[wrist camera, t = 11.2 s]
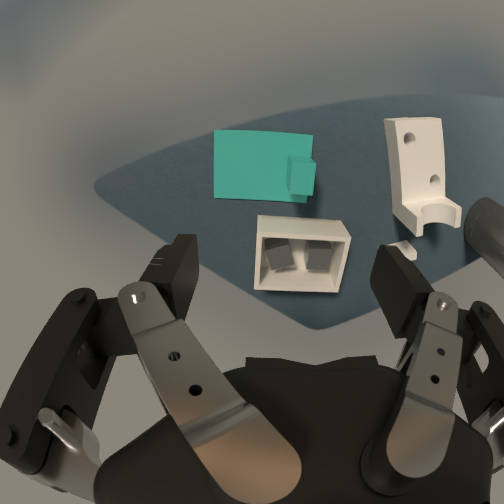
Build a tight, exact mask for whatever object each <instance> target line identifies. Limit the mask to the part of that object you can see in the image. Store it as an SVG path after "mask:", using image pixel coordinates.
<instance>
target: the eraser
mask: <svg viewBox="0 0 504 504" xmlns="http://www.w3.org/2000/svg"><path fill="white" fill-rule="evenodd" d="M389 245H393V246H397V247H398V248H399V249H400V251H401V252H402V253H403V254H404V256H405V257H406V258H408V259H409V260H410V261H412V260H415V259H417V252H416V250H415V249H414V248H413V247H412V246H411V245H410V244H409V242H408V241H407V240H405V241H401V242H397V243H393V244H389ZM378 248H379V247H378Z"/></svg>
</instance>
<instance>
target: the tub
mask: <svg viewBox="0 0 504 504" xmlns="http://www.w3.org/2000/svg"><path fill="white" fill-rule="evenodd" d="M268 238H288V239H289V242H290V246H291V249H292V253H293V258H294V264H295V265H291V266H287V267H283V268H279V269H275V270H271V267H270V264H269V261H268V258H267V255H266V252H265V239H268ZM306 239H308V240H325V241H329V242H330V244H331V246H332V249H333V252H332V257H331V262H330V267H329V270H315V269H306V266H305V262H304V258H303V257H304V250H305V243H306ZM350 241H351V236H350V235H349V233H348V232H347V230H346V228H345V227H344V225H343V223H342V222H341V221H339V220H326V219H312V218H298V217H282V216H264V215H258V222H257V242H256V261H255V281H254V289H258V290H280V291H307V292H338V290H339V287H340V283H341V279H342V275H343V271H344V267H345V263H346V258H347V254H348V250H349V245H350Z"/></svg>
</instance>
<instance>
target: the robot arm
mask: <svg viewBox="0 0 504 504" xmlns="http://www.w3.org/2000/svg"><path fill="white" fill-rule="evenodd" d="M464 234H465V239H466V241H467V243H468V244H469V245H470V246H471V247H472V248H473V249H474V250H475V251H476V252H477V253H478V254H479V255H480V256H481V257H482V258H483V259H484V260H485V261H487V263H489V265H490V266H491V267H492V268H493V269H494V270H495V271H496V272H497V273H498V274H499V275H500V276H501V277H502V278H503V279H504V207H503V206H501V205H500V204H498V203H497V202H495V201H494V200H492V199H490V198H483V199H480V200H479V201H478V202H476V203H475V205H474V206H473V207H472V208H471V210H470V212H469V214H468V216H467V219H466V222H465V228H464ZM198 276H199V260H198V246H197V236H196V235H195V234H178V235H177V237H176V238H175V240H174V242H173V243H172V245H165V246H163V247H162V248H161V249H159V250H158V251H157V253H156V254H155V255H154V257H153V259H152V260H151V262H150V264H149V265H148V267H147V268H146V270H145V271H144V273H143V275H142V276H141V278H140V280H139V281H138V282H133V283H130V284H128V285H126V286H125V287H123V288H122V289H121V290H120V291H119V293H118V296H117V297H115V298H107V299H97V296H96V293H95V291H93V290H92V289H90V288H79V289H75V290H73V291H71V292H70V293H68V294H67V295H66V296H65V297H64V298H63V300H62V301H61V302H60V304H59V305H58V307H57V308H56V310H55V311H54V313H53V314H52V316H51V317H50V319H49V320H48V322H47V323H46V325H45V326H44V328H43V330H42V331H41V333H40V334H39V336H38V338H37V339H36V341H35V343H34V344H33V346H32V348H31V349H30V351H29V353H28V355H27V356H26V358H25V360H24V362H23V363H22V365H21V367H20V369H19V371H18V373H17V375H16V377H15V379H14V380H13V382H12V384H11V386H10V388H9V391H8V393H7V395H6V397H5V399H4V402H3V403H2V406H1V408H0V458H1V459H2V460H4V461H5V462H6V463H8V464H10V465H11V466H13V467H14V468H16V469H17V470H18V471H19V472H21V473H22V474H24V475H26V476H28V477H29V478H31V479H33V480H35V481H37V482H39V483H41V484H43V485H45V486H49V487H51V488H53V489H55V490H57V491H60V492H70V493H72V494H74V495H77V496H79V497H81V498H84V499H86V500H89V501H92V502H94V503H95V504H490V486H491V477H492V474H494V473H496V472H497V471H499V470H501V469H502V468H504V324H503V323H502V322H501V320H500V318H499V317H498V315H497V314H496V313H495V311H494V310H493V309H492V308H491V307H490V306H489V305H488V304H486V303H484V302H481V301H475V302H474V303H473V304H472V306H471V308H470V310H469V311H468V310H463V309H459V308H458V305H457V303H456V301H455V300H454V299H453V298H452V297H450V296H449V295H447V294H445V293H443V292H437V291H434V289H433V288H432V287H431V285H430V284H429V283H428V281H427V280H426V278H425V277H424V276H423V275H422V273H421V272H420V271H419V269H418V268H417V267H416V265H415V264H414V263H413V262H412V261H410V260H409V259H408V258H406V257H405V256H404V254H403V253H402V252H401V251H400V249H399V248H398V247H397V246H393V245H380V246H379V248H378V251H377V255H376V258H375V262H374V265H373V269H372V272H371V276H370V285H371V288H372V290H373V292H374V294H375V296H376V298H377V300H378V302H379V304H380V306H381V308H382V311H383V313H384V315H385V317H386V319H387V321H388V324H389V326H390V328H391V330H392V332H393V334H394V337H395V339H397V338H407V341H406V343H405V344H404V346H403V349H402V352H401V354H400V357H399V359H398V362H397V365H396V367H395V369H392V368H390V367H386V366H382V365H378V362H377V359H376V356H375V355H374V356H360V357H346V358H343V359H339V360H336V361H332V362H328V363H324V364H320V365H310V364H305V363H300V362H295V361H290V360H285V359H281V358H280V359H279V358H253V357H246V364H245V365H246V366H245V367H241V368H237V369H233V370H230V371H227V372H224V373H222V372H221V371H220V370H219V368H218V367H217V366H216V365H215V363H214V362H213V360H212V359H211V358H210V356H209V355H208V354H207V353H206V351H205V350H204V348H203V347H202V346H201V344H200V343H199V341H198V340H197V339H196V337H195V336H194V334H193V333H192V332H191V330H190V329H189V327H188V326H187V324H186V323H185V318H186V315H187V312H188V309H189V306H190V302H191V299H192V296H193V293H194V290H195V287H196V284H197V281H198ZM481 344H482V346H483V347H484V349H485V351H486V353H487V355H488V358H489V364H488V367H487V369H486V370H485V371H484V372H483V374H482V372H481V369H480V367H479V365H478V363H477V361H476V359H475V357H474V354H475V353H476V351H477V350H478V348H479V347H480V345H481ZM132 354H137V355H138V357H139V360H140V362H141V364H142V366H143V368H144V371H145V373H146V375H147V377H148V379H149V381H150V383H151V385H152V387H153V389H154V391H155V393H156V395H157V397H158V399H159V401H160V403H161V405H162V407H163V409H164V411H165V413H166V414H167V415H166V416H165V417H164V418H162V419H161V420H160V421H158V422H157V423H156V424H154V425H153V426H152V427H150V428H149V429H148V430H146V431H145V432H144V433H142V434H141V435H140V436H138V437H137V438H136V439H134V440H133V441H131V442H130V443H128V444H127V445H126V446H124V447H123V448H121V449H120V450H119V451H117V452H116V453H114V454H113V455H111V456H110V457H109V458H107V459H106V460H105V461H104V462H103V464H101V462H100V459H99V448H100V447H99V441H98V439H97V437H96V435H95V434H94V433H93V432H92V428H93V424H94V421H95V418H96V415H97V411H98V408H99V405H100V402H101V399H102V396H103V393H104V390H105V387H106V384H107V381H108V379H109V376H110V373H111V370H112V368H113V365H114V362H115V360H116V357H117V356H122V355H132ZM456 388H457V391H458V394H459V396H460V399H461V402H462V405H463V408H464V410H465V413H466V416H467V419H468V423H469V424H468V423H467V422H465V421H464V420H463V419H462V418H460V417H459V416H458V415H456V414H455V413H454V412H453V411H452V407H453V402H454V397H455V392H456Z"/></svg>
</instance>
